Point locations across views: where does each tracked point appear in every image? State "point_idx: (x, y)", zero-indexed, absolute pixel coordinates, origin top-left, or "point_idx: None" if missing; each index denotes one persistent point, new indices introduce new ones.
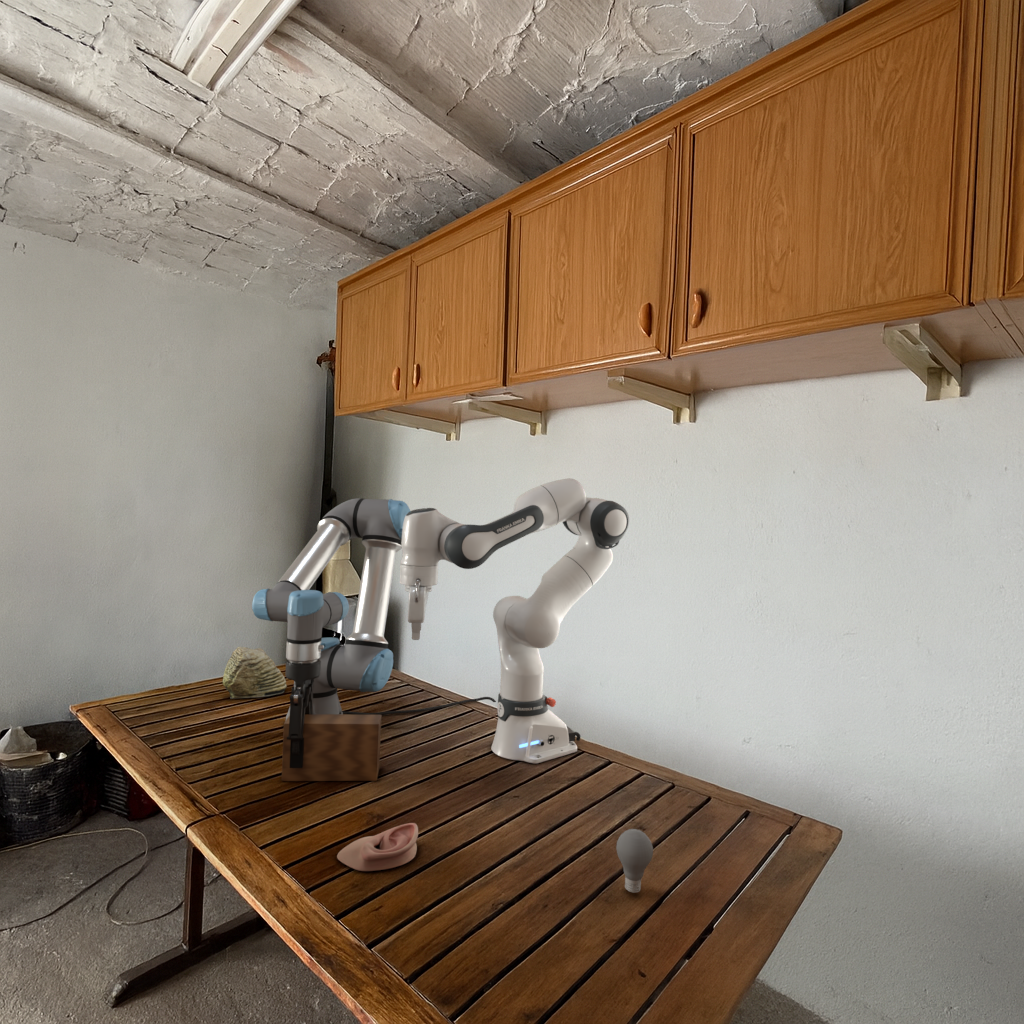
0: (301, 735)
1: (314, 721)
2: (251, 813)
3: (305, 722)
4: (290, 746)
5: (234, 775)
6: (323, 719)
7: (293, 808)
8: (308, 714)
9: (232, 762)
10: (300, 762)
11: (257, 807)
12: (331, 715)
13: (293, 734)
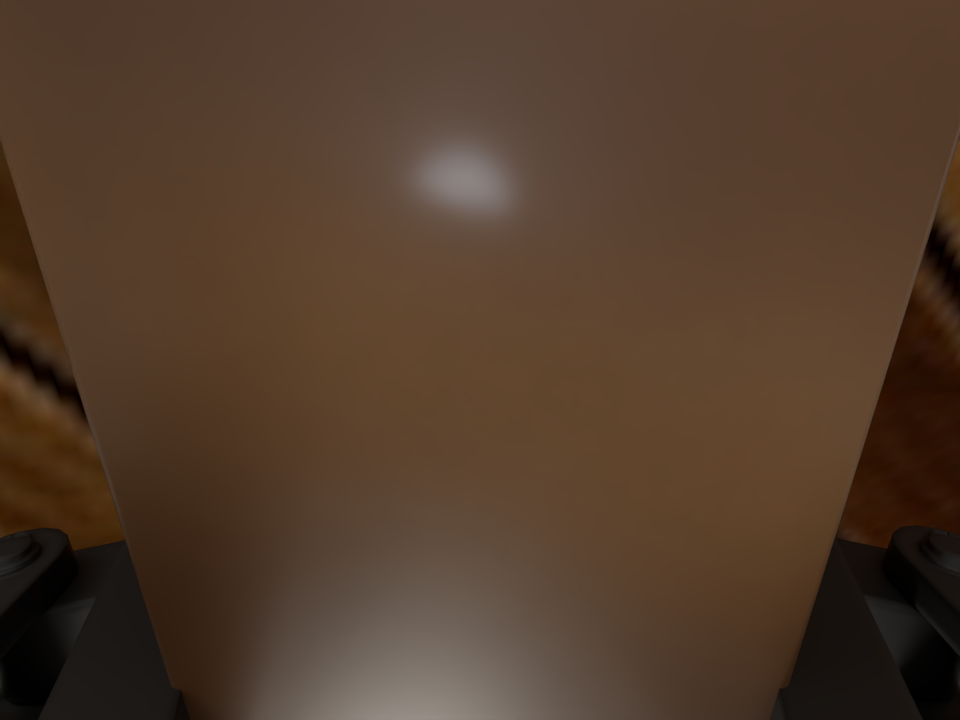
0: (837, 550)
1: (684, 519)
2: (929, 484)
3: (717, 673)
4: None
5: None
6: (534, 321)
7: (946, 287)
8: (192, 703)
9: None
10: None
11: (868, 474)
12: (113, 117)
13: (958, 676)
